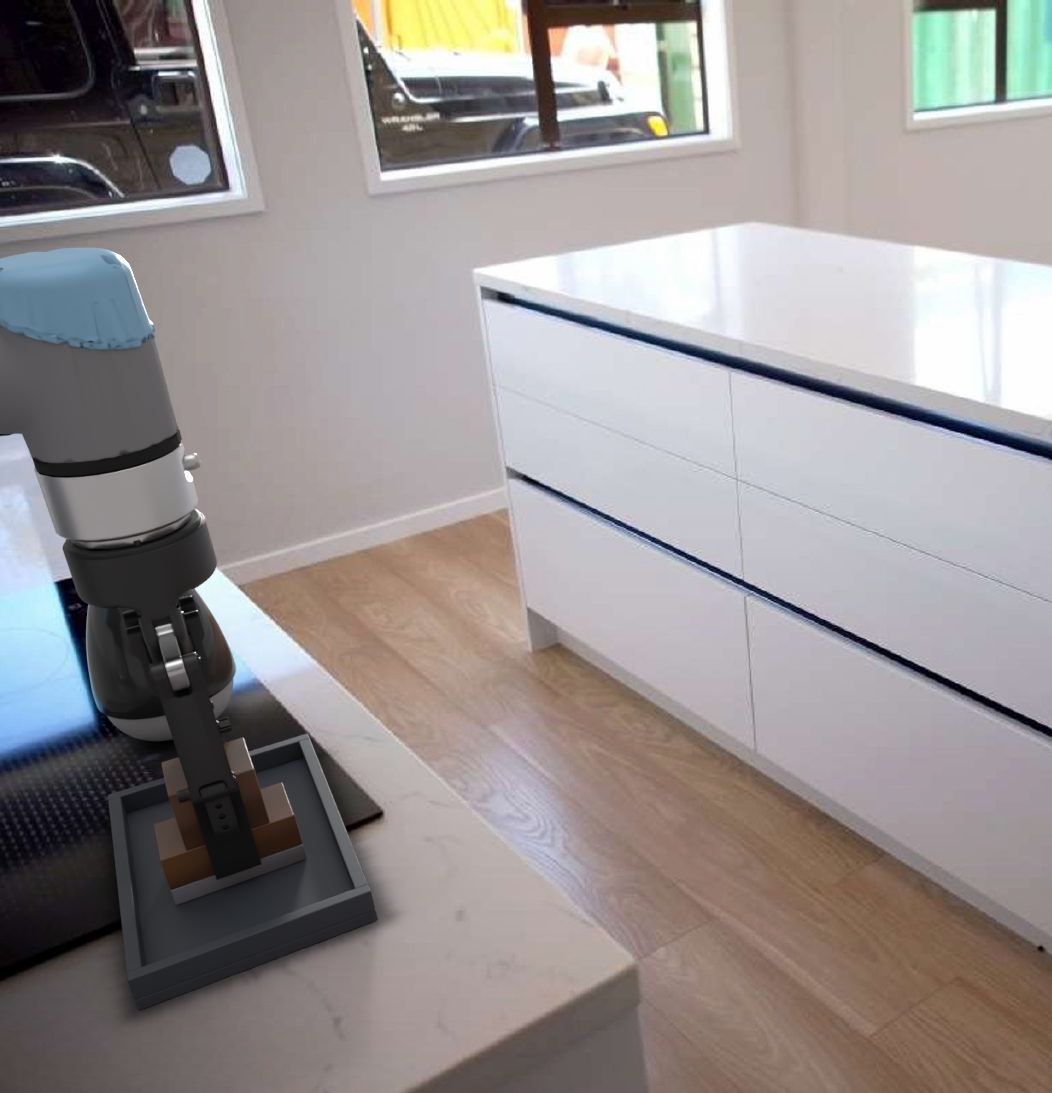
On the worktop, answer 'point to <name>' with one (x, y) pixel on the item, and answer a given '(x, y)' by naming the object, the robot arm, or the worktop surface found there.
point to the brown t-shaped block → (186, 845)
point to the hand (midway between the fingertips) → (232, 847)
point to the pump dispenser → (123, 677)
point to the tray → (234, 887)
